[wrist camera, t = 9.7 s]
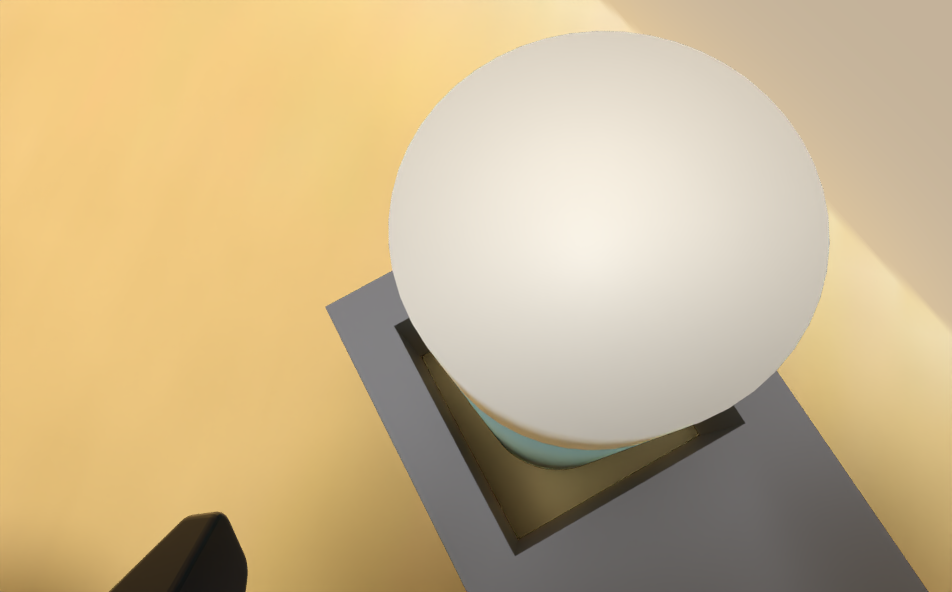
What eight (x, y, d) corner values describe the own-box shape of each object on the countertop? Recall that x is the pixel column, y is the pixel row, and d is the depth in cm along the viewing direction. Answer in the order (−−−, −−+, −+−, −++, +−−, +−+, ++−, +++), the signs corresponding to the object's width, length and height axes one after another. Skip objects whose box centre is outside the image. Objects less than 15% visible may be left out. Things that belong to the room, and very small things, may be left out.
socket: (858, 597, 17) (956, 632, 13) (580, 765, 16) (596, 852, 12) (604, 210, 20) (622, 146, 16) (365, 341, 20) (325, 306, 16)
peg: (657, 423, 18) (926, 294, 6) (529, 497, 18) (520, 527, 6) (580, 300, 19) (667, -33, 7) (457, 368, 19) (319, 150, 7)
